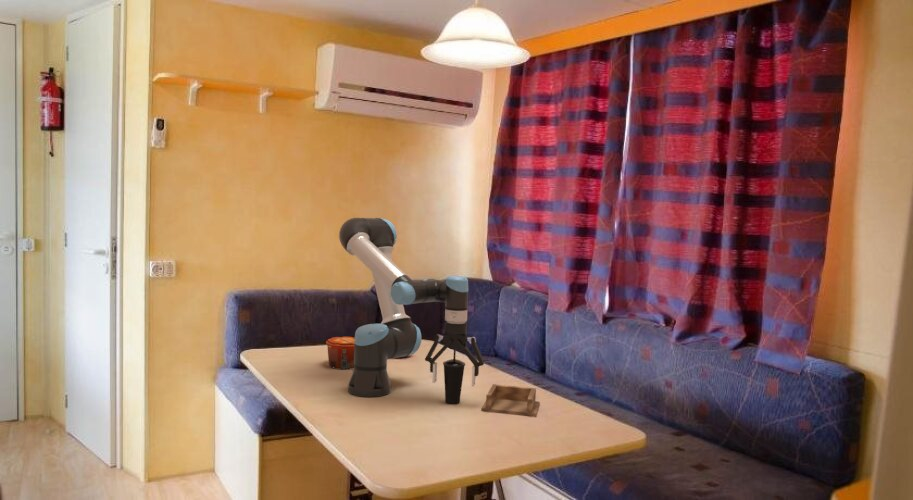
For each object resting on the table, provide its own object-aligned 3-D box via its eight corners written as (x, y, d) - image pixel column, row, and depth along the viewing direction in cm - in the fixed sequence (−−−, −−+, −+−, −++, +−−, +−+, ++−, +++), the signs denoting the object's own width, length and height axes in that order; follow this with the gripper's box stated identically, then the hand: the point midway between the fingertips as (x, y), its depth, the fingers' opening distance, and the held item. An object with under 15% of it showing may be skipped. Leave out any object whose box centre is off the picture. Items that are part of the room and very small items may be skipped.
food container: (372, 365, 270) (373, 339, 269) (346, 372, 256) (347, 345, 256) (343, 359, 278) (344, 334, 278) (316, 366, 265) (317, 340, 264)
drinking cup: (461, 406, 218) (463, 347, 216) (439, 404, 219) (441, 345, 218) (465, 400, 225) (468, 343, 224) (444, 398, 227) (446, 341, 225)
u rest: (481, 410, 214) (481, 394, 214) (488, 399, 228) (488, 383, 227) (535, 416, 210) (536, 400, 210) (539, 404, 224) (540, 388, 224)
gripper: (417, 321, 219) (415, 383, 221) (490, 326, 214) (488, 389, 215) (423, 317, 227) (421, 377, 228) (493, 322, 222) (491, 384, 223)
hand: (453, 383), depth 222 cm, fingers open, 13 cm apart
